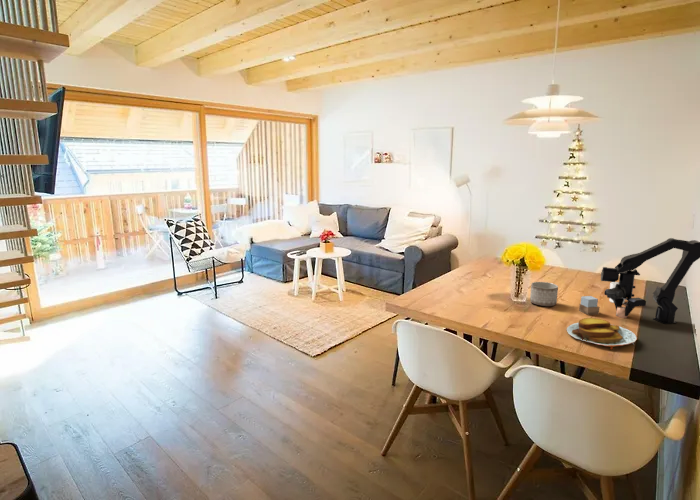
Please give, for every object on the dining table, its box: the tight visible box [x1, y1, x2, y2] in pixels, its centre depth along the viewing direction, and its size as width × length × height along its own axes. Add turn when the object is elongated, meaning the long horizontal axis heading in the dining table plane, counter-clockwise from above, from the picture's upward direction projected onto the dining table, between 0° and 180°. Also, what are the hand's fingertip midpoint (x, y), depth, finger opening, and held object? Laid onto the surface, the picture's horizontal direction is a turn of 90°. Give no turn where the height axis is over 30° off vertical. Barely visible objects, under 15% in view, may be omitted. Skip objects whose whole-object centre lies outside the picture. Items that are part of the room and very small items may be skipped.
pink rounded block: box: [615, 306, 629, 319], centre depth 189 cm, size 5×5×4 cm
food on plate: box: [566, 317, 638, 350], centre depth 166 cm, size 25×25×7 cm
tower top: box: [580, 295, 599, 307], centre depth 194 cm, size 5×5×4 cm
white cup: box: [608, 281, 626, 304], centre depth 209 cm, size 8×8×10 cm
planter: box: [529, 281, 559, 307], centre depth 208 cm, size 13×13×10 cm
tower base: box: [578, 303, 600, 316], centre depth 195 cm, size 6×6×4 cm
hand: (622, 314), depth 190 cm, fingers closed on pink rounded block, 5 cm apart
